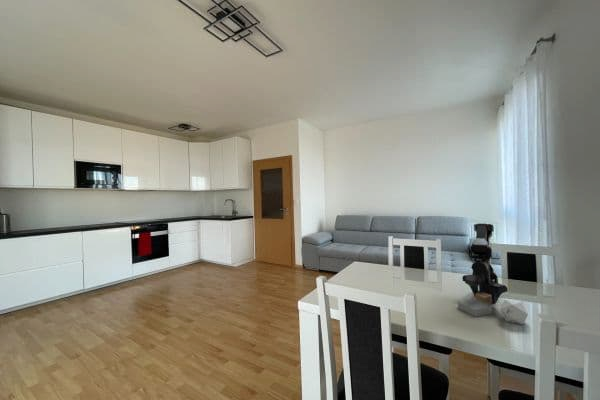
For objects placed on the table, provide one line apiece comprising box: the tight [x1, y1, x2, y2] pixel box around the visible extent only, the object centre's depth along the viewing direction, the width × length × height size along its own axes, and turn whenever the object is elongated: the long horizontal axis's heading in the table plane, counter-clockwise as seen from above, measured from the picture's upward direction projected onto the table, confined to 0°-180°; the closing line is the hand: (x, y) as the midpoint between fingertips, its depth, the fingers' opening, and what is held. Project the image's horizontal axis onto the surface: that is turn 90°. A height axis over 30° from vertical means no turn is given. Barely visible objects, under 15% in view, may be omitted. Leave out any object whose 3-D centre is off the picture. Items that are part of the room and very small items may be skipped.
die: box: [499, 299, 529, 325], centre depth 96 cm, size 8×9×10 cm
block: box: [474, 292, 494, 306], centre depth 114 cm, size 5×5×4 cm
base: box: [457, 298, 493, 317], centre depth 107 cm, size 9×9×3 cm
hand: (484, 300), depth 114 cm, fingers open, 9 cm apart
